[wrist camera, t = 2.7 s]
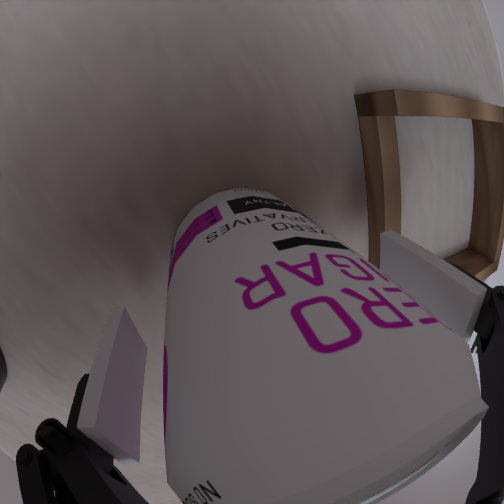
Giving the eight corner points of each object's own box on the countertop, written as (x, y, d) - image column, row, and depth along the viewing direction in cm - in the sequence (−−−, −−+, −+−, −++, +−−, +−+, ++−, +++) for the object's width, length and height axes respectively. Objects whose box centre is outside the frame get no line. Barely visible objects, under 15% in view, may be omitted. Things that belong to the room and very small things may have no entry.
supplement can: (205, 323, 19) (254, 545, 5) (150, 218, 15) (75, 520, 2) (311, 278, 19) (452, 454, 6) (279, 165, 16) (555, 296, 2)
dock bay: (367, 308, 22) (393, 335, 18) (354, 95, 15) (394, 89, 11) (473, 255, 24) (497, 269, 20) (477, 105, 17) (507, 108, 13)
